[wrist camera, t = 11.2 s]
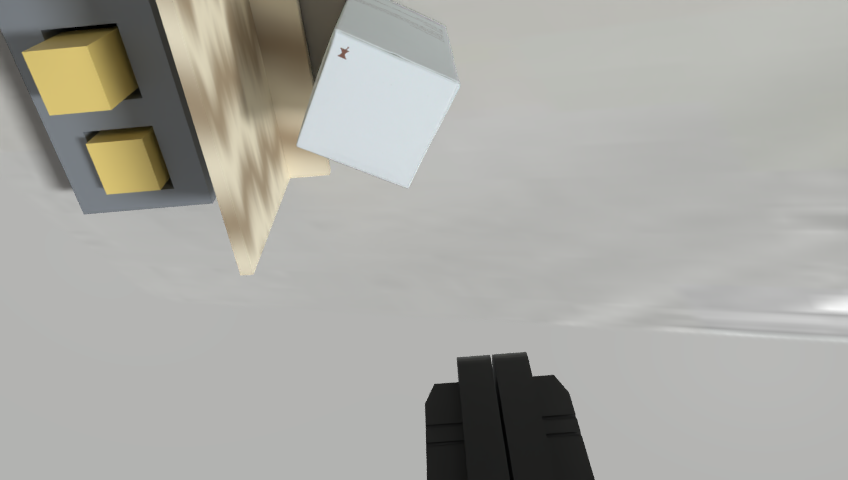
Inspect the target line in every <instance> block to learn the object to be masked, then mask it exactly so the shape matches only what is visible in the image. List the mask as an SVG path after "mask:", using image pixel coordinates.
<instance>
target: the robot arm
mask: <svg viewBox="0 0 848 480" xmlns="http://www.w3.org/2000/svg"><path fill="white" fill-rule="evenodd" d="M457 367H458V380H459V382H457V383H442V384H434V386H433V388H432V390H431V393H430V395H429V397H428V399H427V401H426V403H425V416H426V454H427V455H426V456H427V480H595V479H594V476H593V473H592V469H591V466H590V462H589V459H588V456H587V452H586V449H585V445H584V442H583V438H582V436H581V433H580V429H579V425H578V421H577V419H576V417H575V411H574V408H573V405H572V401H571V398H570V394H569V392H568V391H567V390H566V389H565V388H564V386H563V385H562V384H561V383H560V382H559V381H558V379H557V378H556V377H555V376H554V375H548V376H534V377H532V373H531V368H530V365H529V360H528V356H527V353H526V352H521V353H507V354H495V355H492V364H491V358H490V355H483V356H471V357H457Z"/></svg>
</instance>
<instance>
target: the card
mask: <svg viewBox="0 0 848 480" xmlns="http://www.w3.org/2000/svg"><path fill="white" fill-rule="evenodd" d="M156 3H157V6H158V10H159V13H160V16H161V19H162V22H163V26H164V29H165V32H166V35H167V39H168V42H169V45H170V48H171V52H172V55H173V58H174V61H175V65H176V68H177V71H178V74H179V77H180V81H181V84H182V87H183V90H184V94H185V97H186V100H187V103H188V107H189V110H190V113H191V116H192V120H193V123H194V126H195V129H196V133H197V136H198V139H199V142H200V145H201V149H202V152H203V155H204V158H205V162H206V165H207V168H208V171H209V175H210V178H211V181H212V184H213V188H214V191H215V194H216V197H217V200H218V204H219V207H220V210H221V213H222V217H223V220H224V223H225V226H226V230H227V233H228V236H229V239H230V243H231V246H232V249H233V252H234V255H235V259H236V262H237V265H238V268H239V272H240V275H253V274H254V272H255V269H256V267H257V264H258V261H259V259H260V256H261V253H262V251H263V248H264V245H265V243H266V240H267V238H268V235H269V232H270V230H271V227H272V224H273V222H274V219H275V216H276V214H277V211H278V209H279V206H280V203H281V201H282V198H283V195H284V193H285V190H286V188H287V185H288V182H289V180H290V178H300V177H311V176H323V175H330V171H331V170H330V165H329V159H328V158H325V157H323V156H320V155H317V154H315V153H312V152H310V151H307V150H304V149H301V148H299V147H297V146H296V143H297V139H298V136H299V132H300V129H301V126H302V122H303V119H304V116H305V112H306V109H307V106H308V102H309V99H310V96H311V92H312V89H313V86H314V80H313V74H312V69H311V64H310V58H309V53H308V48H307V42H306V37H305V32H304V26H303V21H302V16H301V10H300V5H299V0H156Z"/></svg>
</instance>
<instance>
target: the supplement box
mask: <svg viewBox="0 0 848 480" xmlns="http://www.w3.org/2000/svg"><path fill="white" fill-rule="evenodd" d="M459 88H460V81H459V78H458V74H457V70H456V66H455V62H454V57H453V53H452V49H451V45H450V41H449V37H448V33H447V29H446V26H445V25H443V24H441V23H439V22H436V21H434V20H432V19H430V18H428V17H426V16H424V15H422V14H420V13H417V12H415V11H413V10H411V9H409V8H406V7H404V6H402V5H400V4H398V3H395V2H393V1H391V0H347V1H346V3H345V5H344V8H343V10H342V12H341V15H340V17H339V19H338V21H337V24H336V26H335V28H334V31H333V33H332V36H331V38H330V41H329V44H328V46H327V49H326V52H325V54H324V57H323V60H322V63H321V66H320V69H319V71H318V74H317V77H316V80H315V83H314V86H313V89H312V92H311V96H310V99H309V102H308V106H307V109H306V112H305V116H304V119H303V122H302V126H301V129H300V132H299V136H298V139H297V143H296V146H297V147H299V148H301V149H304V150H307V151H310V152H312V153H315V154H317V155H320V156H323V157H325V158H328V159H330V160H333V161H336V162H338V163H341V164H344V165H346V166H349V167H351V168H354V169H357V170H359V171H362V172H365V173H367V174H370V175H373V176H375V177H378V178H381V179H383V180H386V181H388V182H391V183H394V184H396V185H399V186H402V187H404V188H409V186H410V184H411V182H412V180H413V178H414V176H415V174H416V172H417V170H418V168H419V166H420V164H421V162H422V160H423V158H424V156H425V154H426V152H427V150H428V148H429V146H430V144H431V142H432V140H433V138H434V136H435V134H436V133H437V131H438V129H439V127H440V125H441V123H442V121H443V119H444V117H445V115H446V113H447V111H448V109H449V107H450V105H451V103H452V101H453V99H454V97H455V96H456V94H457V92H458V90H459Z"/></svg>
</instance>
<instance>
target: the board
mask: <svg viewBox="0 0 848 480" xmlns="http://www.w3.org/2000/svg"><path fill="white" fill-rule="evenodd" d="M111 23H117V26H118V29H119V32H120V35H121V38H122V40H123V43H124V46H125V49H126V52H127V55H128V58H129V61H130V63H131V66H132V69H133V72H134V75H135V78H136V81H137V83H138V86H139V87H138V88H137V89H136V90H135V91H133V92H132V93H131V94H130V95H129V96H127V97H126V98H125V99H124V100H123V101H122V102H120V103H119V104H118V105H117V106H116V107H114V108H113V109H112V110H106V111H95V112H84V113H73V114H62V115H51V116H50V115H49V113H48V111H47V108H46V106H45V104H44V102H43V99H42V97H41V95H40V93H39V90H38V88H37V86H36V84H35V81H34V79H33V77H32V75H31V72H30V70H29V68H28V65H27V63H26V61H25V59H24V56H23V54H22V52H23V51H25V50H27V49H29V48H31V47H33V46H35V45H37V44H39V43H41V42H43V41H45V40H47V39H49V38H51V37H53V36H55V35H57V34H59V33H61V32H66V31H76V30H75V28H74V27H80V26H90V25H101V24H111ZM0 29H1V32H2V34H3V36H4V38H5V40H6V43H7V45H8V47H9V49H10V51H11V54H12V56H13V58H14V60H15V63H16V65H17V67H18V69H19V71H20V74H21V76H22V78H23V80H24V82H25V85H26V87H27V89H28V91H29V94H30V96H31V98H32V100H33V102H34V105H35V107H36V109H37V111H38V113H39V116H40V118H41V120H42V122H43V125H44V127H45V129H46V131H47V133H48V136H49V138H50V140H51V142H52V144H53V147H54V149H55V151H56V153H57V156H58V158H59V160H60V162H61V164H62V167H63V169H64V171H65V173H66V175H67V178H68V180H69V182H70V184H71V187H72V189H73V191H74V193H75V195H76V198H77V200H78V202H79V204H80V206H81V209H82V211H83V213H84V214H93V213H105V212H117V211H128V210H140V209H152V208H164V207H175V206H187V205H199V204H210V203H213V202H214V200H215V198H216V194H215V191H214V188H213V184H212V181H211V178H210V175H209V171H208V168H207V165H206V162H205V158H204V155H203V152H202V149H201V145H200V142H199V139H198V136H197V133H196V129H195V126H194V123H193V120H192V116H191V113H190V110H189V107H188V103H187V100H186V97H185V94H184V90H183V87H182V84H181V81H180V77H179V74H178V71H177V68H176V65H175V61H174V58H173V55H172V52H171V48H170V45H169V42H168V39H167V35H166V32H165V29H164V26H163V22H162V19H161V16H160V13H159V10H158V6H157V3H156V0H0ZM144 126H153V129H154V132H155V135H156V138H157V141H158V144H159V146H160V149H161V152H162V155H163V158H164V161H165V164H166V167H167V169H168V172H169V175H170V178H169V179H168V181H167V182H166V183H165V185H164V186H163V187H162V189H161V190H155V191H143V192H132V193H120V194H108V195H107V194H106V192H105V189H104V187H103V185H102V182H101V180H100V177H99V175H98V173H97V170H96V168H95V166H94V163H93V161H92V158H91V156H90V154H89V151H88V149H87V146H86V143H87V142H88V141H90V140H91V139H92V138H93V137H94V136H95V135H96V134H97V133H99V132H100V131H101V130H110V129H122V128H133V127H144Z"/></svg>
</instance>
